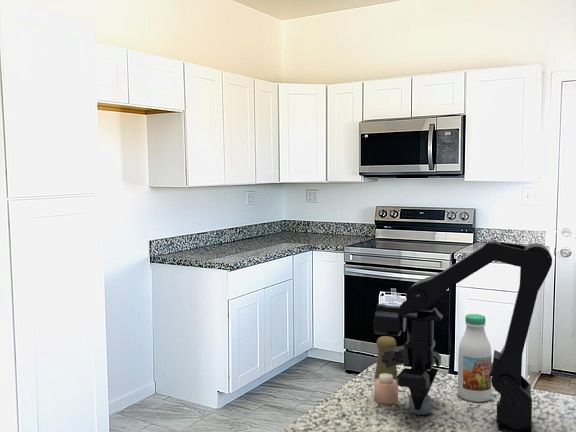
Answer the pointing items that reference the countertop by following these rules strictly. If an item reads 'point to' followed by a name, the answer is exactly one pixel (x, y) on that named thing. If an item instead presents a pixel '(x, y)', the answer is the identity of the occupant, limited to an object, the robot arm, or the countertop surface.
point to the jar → (385, 389)
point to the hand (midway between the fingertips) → (420, 405)
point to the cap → (424, 408)
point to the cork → (382, 345)
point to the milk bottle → (474, 361)
